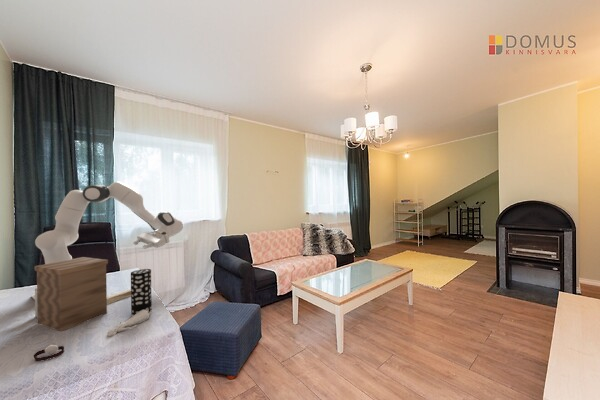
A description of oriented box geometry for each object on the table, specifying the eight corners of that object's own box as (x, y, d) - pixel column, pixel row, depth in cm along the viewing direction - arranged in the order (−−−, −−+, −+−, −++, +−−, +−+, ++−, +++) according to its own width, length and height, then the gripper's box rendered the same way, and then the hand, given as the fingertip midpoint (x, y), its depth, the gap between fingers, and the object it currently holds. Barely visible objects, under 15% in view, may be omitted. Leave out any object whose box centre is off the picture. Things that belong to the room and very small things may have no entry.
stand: (35, 323, 104) (34, 266, 104) (84, 306, 121) (83, 256, 121) (60, 332, 97) (59, 270, 97) (108, 312, 114) (107, 259, 114)
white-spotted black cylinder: (155, 309, 116) (154, 269, 116) (137, 317, 109) (137, 274, 109) (145, 306, 120) (144, 268, 120) (127, 314, 112) (126, 272, 112)
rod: (99, 305, 123) (99, 299, 123) (138, 291, 142) (138, 286, 142) (102, 306, 122) (102, 300, 122) (141, 292, 140) (141, 287, 140)
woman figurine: (158, 308, 108) (116, 332, 91) (159, 318, 108) (117, 343, 91) (141, 305, 112) (97, 326, 95) (142, 314, 112) (98, 337, 95)
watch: (67, 350, 86) (66, 340, 86) (60, 357, 81) (60, 347, 81) (38, 356, 82) (38, 346, 82) (29, 364, 78) (29, 354, 78)
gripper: (149, 227, 157) (127, 237, 146) (168, 234, 149) (147, 245, 137) (151, 235, 159) (130, 245, 148) (171, 243, 151) (150, 254, 140)
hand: (138, 245), depth 143 cm, fingers open, 8 cm apart
